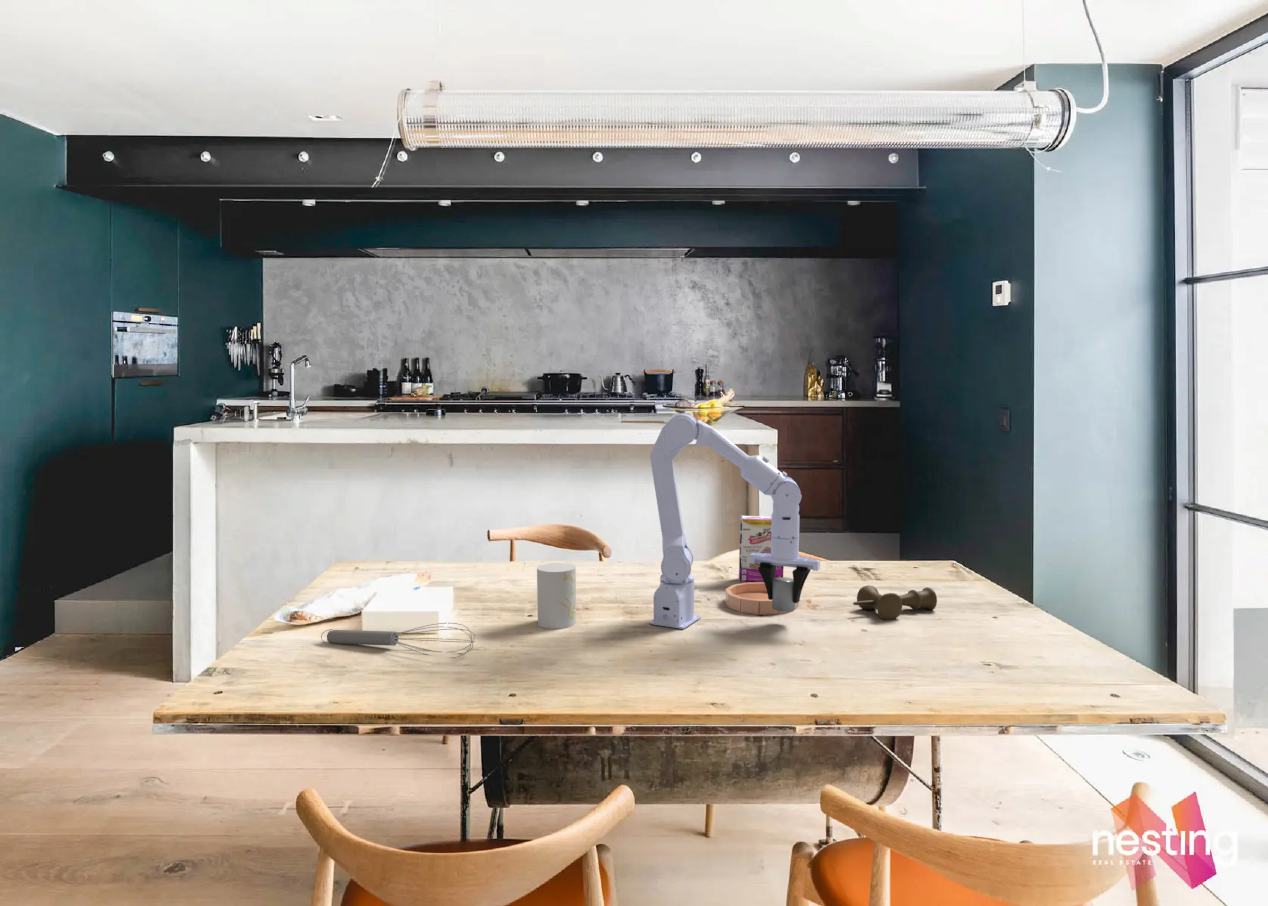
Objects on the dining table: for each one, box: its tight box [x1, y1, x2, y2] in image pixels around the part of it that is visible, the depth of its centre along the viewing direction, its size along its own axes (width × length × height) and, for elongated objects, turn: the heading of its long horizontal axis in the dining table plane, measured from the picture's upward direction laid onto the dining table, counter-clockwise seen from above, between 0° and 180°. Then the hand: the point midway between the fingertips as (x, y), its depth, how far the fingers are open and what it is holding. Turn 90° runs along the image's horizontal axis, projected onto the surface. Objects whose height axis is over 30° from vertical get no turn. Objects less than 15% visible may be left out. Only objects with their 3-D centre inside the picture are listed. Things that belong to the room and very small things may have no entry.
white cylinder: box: [536, 562, 577, 630], centre depth 175 cm, size 8×8×12 cm
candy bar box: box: [738, 515, 785, 583], centre depth 209 cm, size 11×5×16 cm, turn 84°
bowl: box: [724, 582, 800, 615], centre depth 189 cm, size 16×16×3 cm
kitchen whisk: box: [320, 622, 476, 659], centre depth 159 cm, size 6×34×6 cm, turn 73°
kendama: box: [852, 584, 938, 621], centre depth 182 cm, size 6×10×20 cm
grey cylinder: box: [772, 576, 796, 613], centre depth 174 cm, size 5×5×6 cm
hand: (783, 600), depth 174 cm, fingers closed on grey cylinder, 5 cm apart
